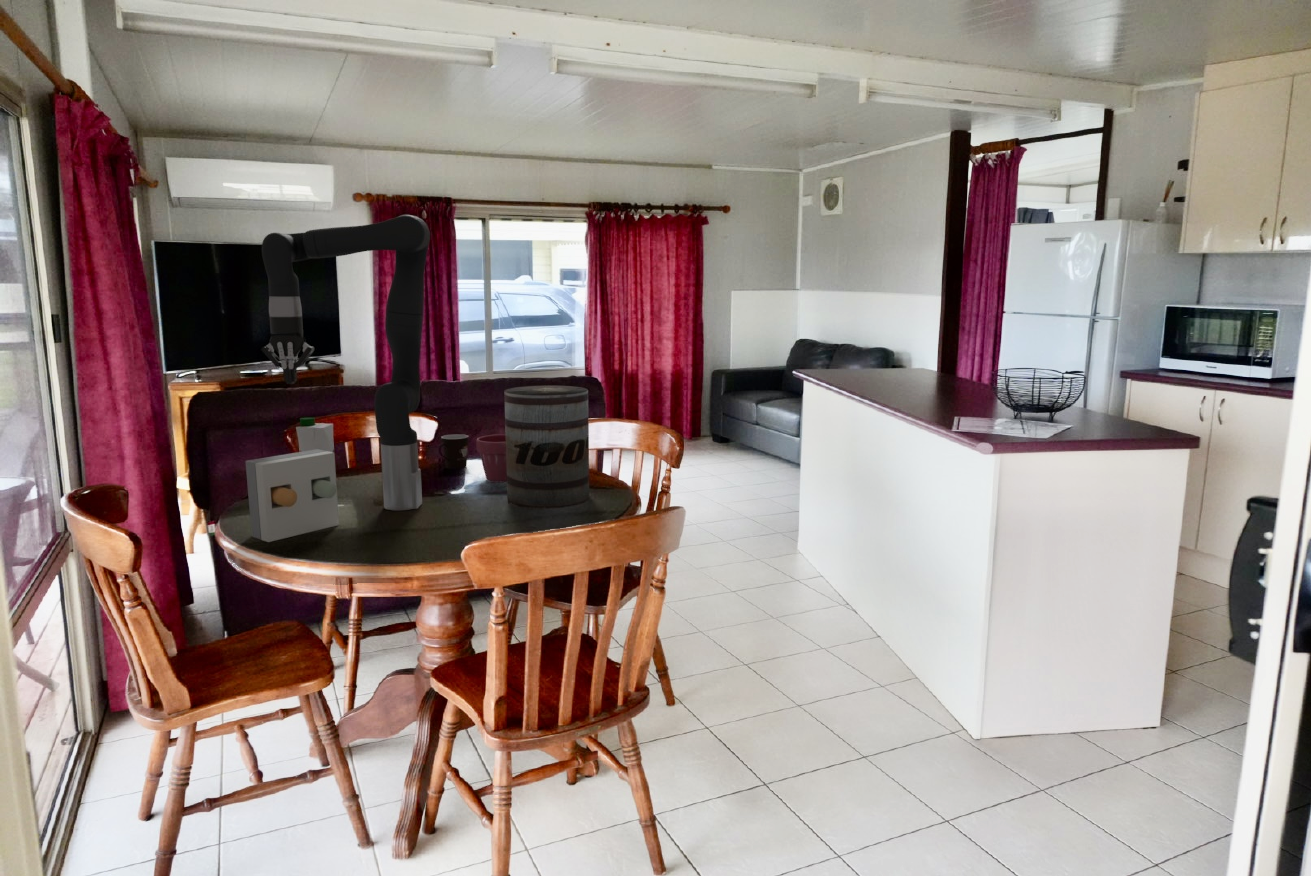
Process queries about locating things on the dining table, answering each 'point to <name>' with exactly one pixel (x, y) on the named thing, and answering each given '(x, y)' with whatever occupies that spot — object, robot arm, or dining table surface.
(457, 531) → the dining table surface
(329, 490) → the button sage
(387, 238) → the robot arm
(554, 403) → the barrel
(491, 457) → the plant pot
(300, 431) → the milk carton
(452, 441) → the coffee mug
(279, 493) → the button orange
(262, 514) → the control box
